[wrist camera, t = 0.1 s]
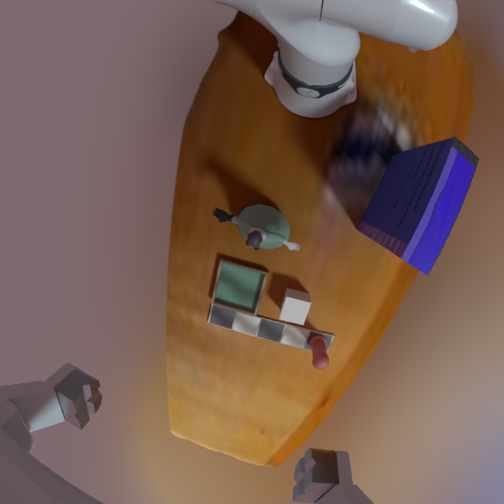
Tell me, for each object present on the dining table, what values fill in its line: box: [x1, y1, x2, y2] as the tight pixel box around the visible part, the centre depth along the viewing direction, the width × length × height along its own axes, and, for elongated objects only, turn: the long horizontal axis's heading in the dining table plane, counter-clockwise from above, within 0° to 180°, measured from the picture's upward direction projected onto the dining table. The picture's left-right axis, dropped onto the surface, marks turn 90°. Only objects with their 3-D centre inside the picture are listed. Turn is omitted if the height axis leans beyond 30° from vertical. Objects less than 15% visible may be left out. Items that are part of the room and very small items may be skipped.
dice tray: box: [211, 258, 269, 316], centre depth 57 cm, size 10×10×2 cm
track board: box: [208, 304, 334, 352], centre depth 59 cm, size 5×28×1 cm, turn 76°
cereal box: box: [357, 137, 479, 275], centre depth 38 cm, size 17×5×24 cm, turn 153°
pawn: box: [309, 335, 329, 369], centre depth 54 cm, size 4×4×9 cm
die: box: [279, 288, 311, 325], centre depth 55 cm, size 5×5×5 cm
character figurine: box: [212, 204, 300, 250], centre depth 46 cm, size 16×8×18 cm, turn 67°
